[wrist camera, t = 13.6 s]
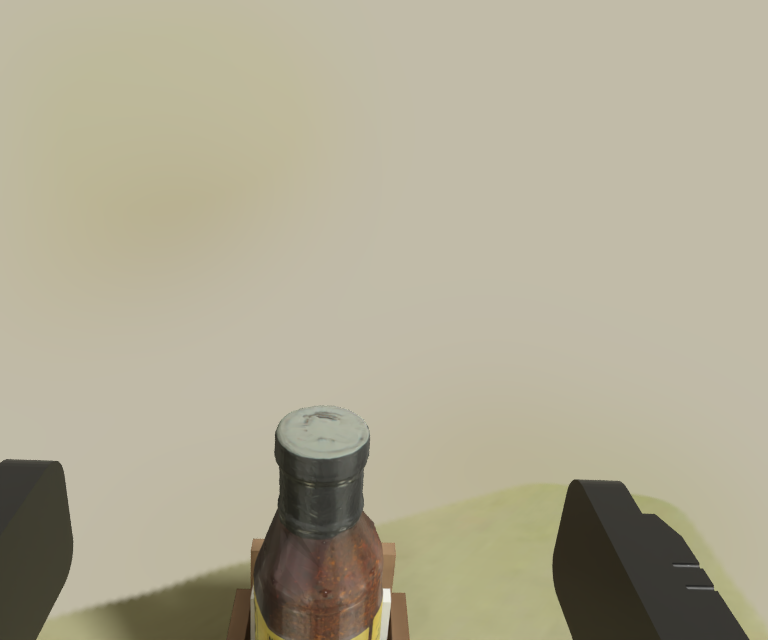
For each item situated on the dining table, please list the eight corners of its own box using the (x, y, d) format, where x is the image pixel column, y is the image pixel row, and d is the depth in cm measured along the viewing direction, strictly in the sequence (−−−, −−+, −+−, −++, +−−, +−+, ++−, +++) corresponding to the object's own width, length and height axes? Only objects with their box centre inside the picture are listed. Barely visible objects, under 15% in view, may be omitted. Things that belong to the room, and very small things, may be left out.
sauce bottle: (312, 660, 41) (326, 371, 33) (394, 723, 38) (432, 420, 30) (228, 739, 36) (221, 424, 28) (314, 820, 33) (334, 488, 25)
